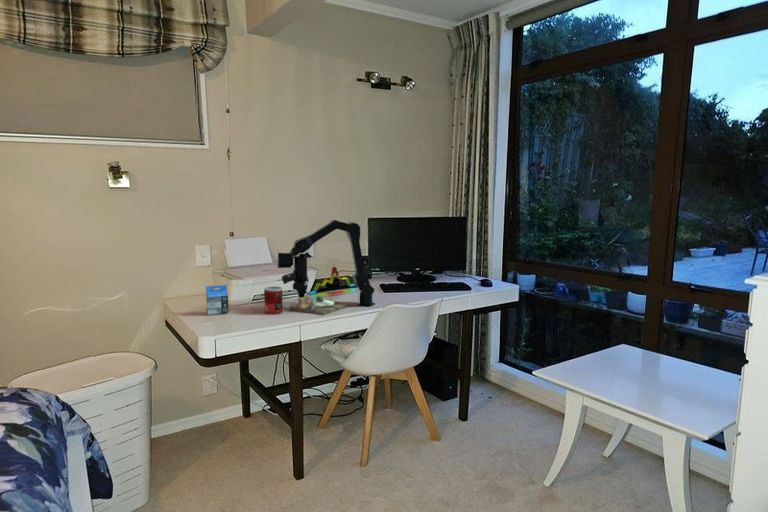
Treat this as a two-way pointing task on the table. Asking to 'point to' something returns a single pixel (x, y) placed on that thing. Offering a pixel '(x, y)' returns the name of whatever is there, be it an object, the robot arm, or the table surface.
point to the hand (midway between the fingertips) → (301, 300)
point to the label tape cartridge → (217, 300)
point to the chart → (334, 293)
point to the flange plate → (320, 302)
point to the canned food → (273, 300)
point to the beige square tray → (322, 310)
